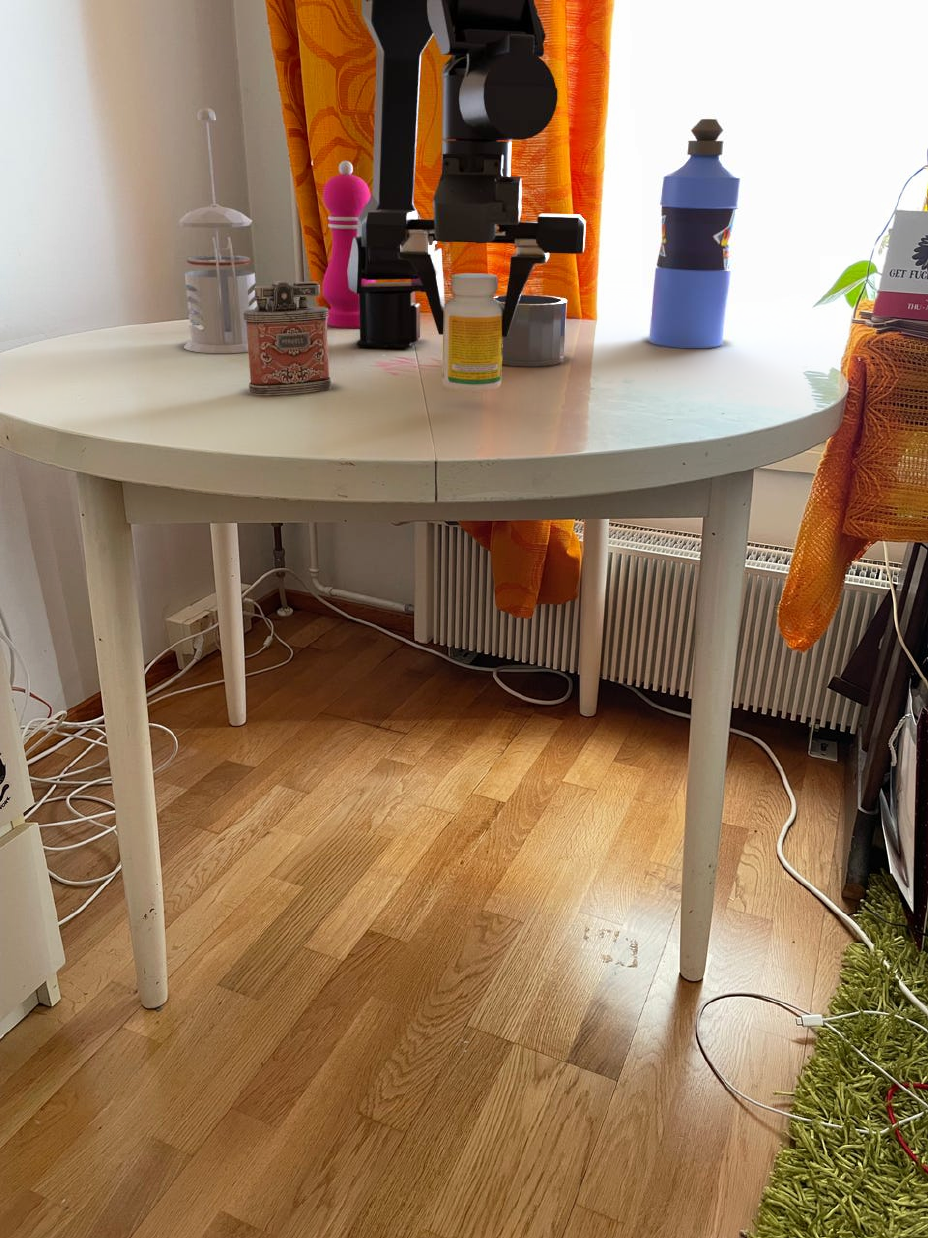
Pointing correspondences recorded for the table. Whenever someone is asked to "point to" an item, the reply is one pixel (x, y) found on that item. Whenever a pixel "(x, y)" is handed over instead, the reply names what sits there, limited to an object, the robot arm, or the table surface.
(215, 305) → the french press
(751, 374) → the table surface
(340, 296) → the pepper mill
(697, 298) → the water bottle
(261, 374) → the lighter
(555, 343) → the grey cylindrical cup
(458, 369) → the supplement bottle
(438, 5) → the robot arm
